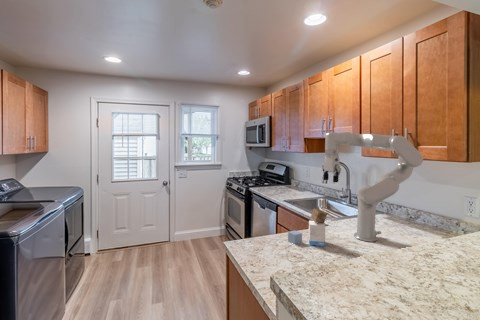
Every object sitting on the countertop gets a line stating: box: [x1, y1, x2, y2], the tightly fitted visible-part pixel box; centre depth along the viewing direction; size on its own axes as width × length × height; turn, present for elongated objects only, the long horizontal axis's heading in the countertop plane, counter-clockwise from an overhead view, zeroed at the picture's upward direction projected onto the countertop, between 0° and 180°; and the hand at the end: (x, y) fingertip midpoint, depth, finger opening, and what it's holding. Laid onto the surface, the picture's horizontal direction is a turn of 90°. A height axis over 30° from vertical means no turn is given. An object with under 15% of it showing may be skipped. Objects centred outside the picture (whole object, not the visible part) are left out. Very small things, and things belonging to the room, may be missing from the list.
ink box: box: [308, 220, 326, 247], centre depth 140 cm, size 9×8×13 cm
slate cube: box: [287, 229, 303, 245], centre depth 142 cm, size 6×6×6 cm
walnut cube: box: [310, 208, 328, 223], centre depth 140 cm, size 6×6×6 cm
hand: (330, 181), depth 152 cm, fingers open, 9 cm apart
